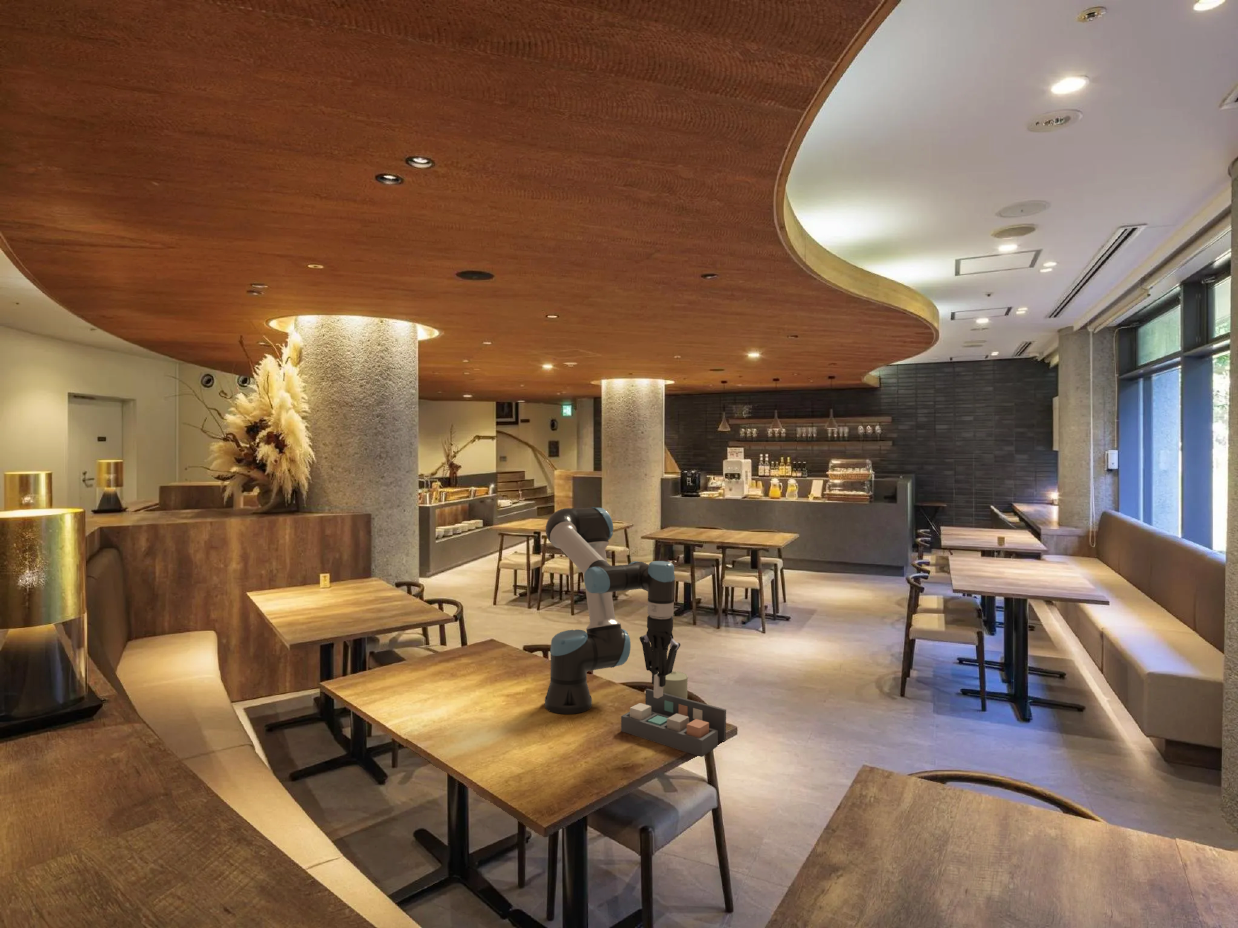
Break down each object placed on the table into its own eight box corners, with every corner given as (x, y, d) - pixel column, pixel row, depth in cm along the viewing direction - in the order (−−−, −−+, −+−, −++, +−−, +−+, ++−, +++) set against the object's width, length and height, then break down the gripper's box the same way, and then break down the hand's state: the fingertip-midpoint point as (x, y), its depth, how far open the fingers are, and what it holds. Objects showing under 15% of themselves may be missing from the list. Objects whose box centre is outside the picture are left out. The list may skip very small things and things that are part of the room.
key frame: (621, 730, 201) (621, 715, 201) (638, 721, 207) (638, 707, 207) (701, 756, 184) (702, 740, 184) (717, 746, 191) (717, 730, 191)
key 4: (686, 738, 189) (686, 724, 189) (695, 732, 193) (696, 718, 193) (699, 742, 187) (699, 728, 186) (708, 736, 190) (709, 722, 190)
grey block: (666, 732, 193) (667, 718, 193) (676, 726, 197) (676, 713, 197) (679, 736, 190) (679, 722, 190) (688, 730, 194) (689, 716, 194)
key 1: (629, 721, 201) (629, 707, 201) (639, 716, 205) (639, 702, 205) (641, 724, 198) (641, 710, 198) (651, 719, 202) (651, 706, 202)
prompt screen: (644, 718, 210) (645, 689, 210) (647, 717, 211) (647, 688, 211) (723, 742, 194) (724, 710, 193) (725, 740, 195) (726, 709, 194)
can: (687, 707, 220) (688, 670, 220) (687, 718, 211) (688, 679, 211) (658, 705, 221) (659, 668, 221) (657, 716, 212) (658, 678, 212)
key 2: (647, 734, 197) (648, 720, 197) (657, 728, 201) (657, 715, 201) (659, 737, 194) (660, 723, 194) (669, 732, 198) (669, 718, 198)
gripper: (634, 614, 198) (632, 694, 199) (672, 622, 190) (670, 706, 191) (649, 609, 204) (647, 687, 205) (686, 617, 196) (684, 698, 197)
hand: (658, 696), depth 198 cm, fingers closed
